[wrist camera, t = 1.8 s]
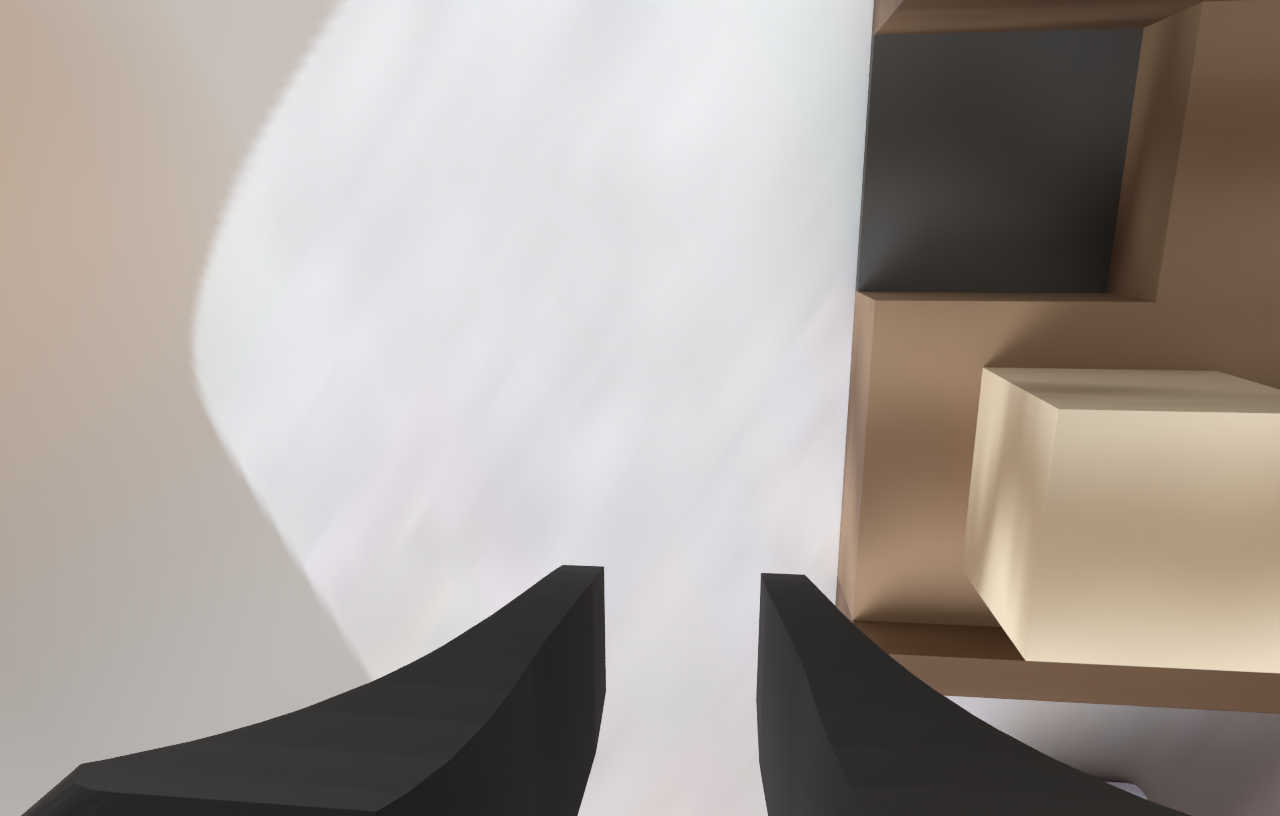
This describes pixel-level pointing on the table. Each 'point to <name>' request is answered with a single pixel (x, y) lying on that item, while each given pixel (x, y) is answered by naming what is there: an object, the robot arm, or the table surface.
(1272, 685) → the trap track
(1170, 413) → the birch block
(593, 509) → the table surface
